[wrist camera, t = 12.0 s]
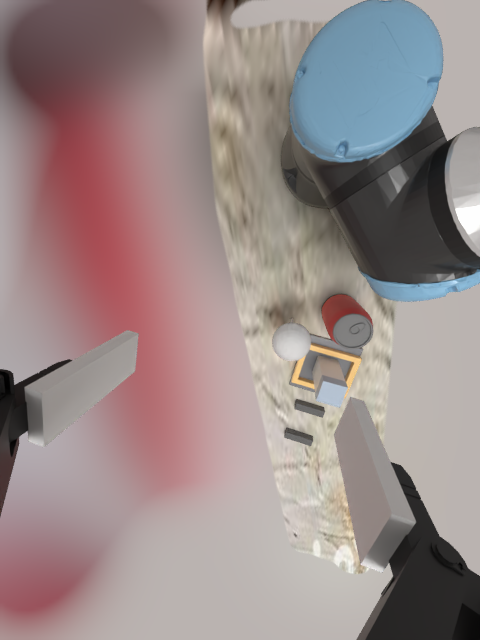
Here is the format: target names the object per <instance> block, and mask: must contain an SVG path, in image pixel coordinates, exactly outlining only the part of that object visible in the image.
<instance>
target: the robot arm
mask: <svg viewBox="0 0 480 640" xmlns="http://www.w3.org/2000/svg"><path fill="white" fill-rule="evenodd" d="M442 70H443V48H442V42H441V38H440V35H439V33H438V30H437V28H436V27H435V25H434V23H433V22H432V20H431V19H430V17H429V16H428V15H427V14H426V13H425V12H424V11H423V10H422V9H420V8H419V7H417V6H416V5H414V4H412V3H410V2H408V1H405V0H391V1H379V0H367V1H363V2H361V3H358V4H356V5H354V6H352V7H350V8H348V9H346V10H344V11H343V12H341V13H340V14H338V15H337V16H335V17H334V18H333V19H332V20H330V21H329V22H328V23H327V24H326V25H325V26H324V27H323V28H322V29H321V30H320V31H319V32H318V34H317V35H316V36H315V37H314V39H313V40H312V42H311V43H310V44H309V46H308V48H307V49H306V51H305V53H304V55H303V57H302V59H301V61H300V63H299V66H298V69H297V72H296V75H295V79H294V83H293V90H292V93H291V96H290V103H289V108H290V111H289V114H290V123H291V126H290V127H289V129H288V131H287V134H286V136H285V139H284V143H283V147H282V153H281V166H282V172H283V177H284V180H285V182H286V185H287V187H288V188H289V190H290V191H291V193H292V194H293V195H294V196H295V197H296V198H297V199H298V200H300V201H301V202H303V203H305V204H307V205H309V206H313V207H318V208H329V210H330V209H331V210H330V212H331V214H332V216H333V218H334V220H335V222H336V224H337V226H338V228H339V230H340V232H341V234H342V236H343V238H344V240H345V242H346V243H347V245H348V247H349V249H350V251H351V253H352V255H353V257H354V259H355V261H356V263H357V265H358V269H359V271H360V272H361V274H362V275H363V276H364V277H365V278H366V279H367V281H368V283H369V284H370V286H371V288H372V289H373V291H374V292H375V293H377V294H378V295H379V296H381V297H383V298H386V299H389V300H393V301H403V302H406V301H407V302H410V301H423V300H430V299H435V298H440V297H444V296H446V294H447V293H449V292H460V291H463V290H466V289H468V288H471V287H473V286H475V285H477V284H479V283H480V127H473V128H469V129H467V130H465V131H463V132H461V133H460V134H458V135H457V136H455V137H454V138H452V139H451V140H449V141H447V140H446V138H445V135H444V133H443V130H442V128H441V126H440V123H439V121H438V118H437V116H436V114H435V111H434V109H433V106H432V104H433V102H434V99H435V97H436V94H437V90H438V83H439V80H440V79H441V75H442ZM137 345H138V333H135V332H131V331H128V330H127V331H125V332H123V333H122V334H120V335H118V336H116V337H114V338H113V339H111V340H109V341H107V342H105V343H104V344H102V345H100V346H98V347H96V348H94V349H93V350H91V351H89V352H87V353H85V354H84V355H82V356H80V357H78V358H76V359H75V360H70V359H69V360H65V361H61V362H58V363H56V364H54V365H52V366H50V367H48V368H47V369H44V370H42V371H40V372H39V373H37V374H35V375H33V376H31V377H29V378H27V379H25V380H23V381H21V382H19V383H18V384H16V385H14V378H13V373H12V372H10V371H8V370H3V369H0V516H1V512H2V508H3V504H4V500H5V496H6V492H7V489H8V484H9V481H10V477H11V473H12V469H13V466H14V462H15V458H16V454H17V450H18V446H19V436H21V435H22V434H23V433H25V432H26V431H28V441H29V442H32V443H34V444H37V445H40V446H42V447H45V446H46V445H48V444H49V443H50V442H51V441H52V440H54V439H55V438H56V437H57V436H58V435H60V433H62V432H63V431H64V430H65V429H67V428H68V427H69V426H70V425H71V424H73V423H74V422H75V421H76V420H77V419H79V418H80V417H81V416H82V415H83V414H85V413H86V412H87V411H88V410H89V409H91V408H92V407H93V406H94V405H95V404H96V403H98V402H99V401H100V400H101V399H102V398H104V397H105V396H106V395H107V394H108V393H110V392H111V391H112V390H113V389H114V388H115V387H117V386H118V385H119V384H120V383H122V382H123V381H124V380H125V379H126V378H128V377H129V376H130V375H131V374H132V373H134V372H135V366H136V355H137ZM334 437H335V442H336V447H337V452H338V457H339V462H340V467H341V471H342V476H343V481H344V486H345V491H346V496H347V501H348V506H349V511H350V515H351V520H352V525H353V530H354V535H355V540H356V545H357V550H358V555H359V559H360V564H361V565H363V566H366V567H368V568H371V569H374V570H376V571H379V572H383V571H384V569H385V568H386V566H387V565H388V563H390V566H391V570H392V573H393V577H392V579H391V580H390V582H389V583H388V585H387V586H386V587H385V589H384V590H383V592H382V593H381V595H382V596H381V598H380V599H379V601H378V603H377V605H376V606H375V608H374V610H373V612H372V613H371V615H370V617H369V619H368V620H367V622H366V624H365V626H364V627H363V629H362V631H361V633H360V634H359V636H358V638H357V640H480V576H479V575H477V574H476V573H474V572H472V571H471V570H470V569H468V567H467V565H466V563H465V561H464V560H463V558H462V557H461V555H460V554H459V553H458V552H457V551H456V550H455V549H454V548H453V547H452V546H451V545H450V544H449V543H448V542H447V541H445V540H444V539H443V538H441V537H440V536H439V534H438V532H437V531H436V528H435V526H434V524H433V522H432V520H431V518H430V516H429V514H428V512H427V510H426V508H425V506H424V504H423V502H422V501H421V498H420V495H419V493H418V491H416V487H415V485H414V483H413V481H412V479H411V477H410V476H409V475H408V473H407V472H406V471H405V470H404V469H403V467H402V466H401V465H398V464H395V463H392V462H390V460H389V458H388V455H387V453H386V451H385V448H384V446H383V444H382V441H381V439H380V437H379V434H378V432H377V430H376V427H375V425H374V423H373V421H372V418H371V416H370V414H369V411H368V409H367V407H366V404H365V402H364V401H362V400H359V399H356V398H352V397H350V399H349V401H348V404H347V406H346V408H345V410H344V413H343V415H342V417H341V420H340V422H339V424H338V426H337V429H336V431H335V433H334Z"/></svg>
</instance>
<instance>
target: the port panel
mask: <svg viewBox="0 0 480 640" xmlns="http://www.w3.org/2000/svg"><path fill="white" fill-rule="evenodd" d="M310 337H311V347H310V350H309V352H308V353H307V354H306V355H305V356H304V357H303V358H302V359H299V360H297V362H296V365H295V368H294V371H293V374H292V377H291V380H290V384H289V385H292V386H295V387H299V388H302V389H305V390H309V391H312V392H315V389H314V382H313V375H312V371H313V368H314V365H315V363H316V360H317V357H318V355H319V356H323V357H326V358H330V359H334V360H338V362H339V364H340V367H341V370H342V373H343V376H344V378H345V381H346V384H347V387H348V389H347V391H346V394H345V396H344V398H346V395H347V393H348V391H349V388H350V386H351V384H352V381H353V379H354V377H355V374H356V372H357V370H358V367H359V365H360V363H361V360H362V359H361V357H360V355H361V353H362V351H363V349H362V348H359V349H346V348H343V347H341V346H340V345H338V344H336V343H335V342H334V341H333V340H330V339H327V338H323V337H320V336H316V335H312V334H310Z"/></svg>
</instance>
